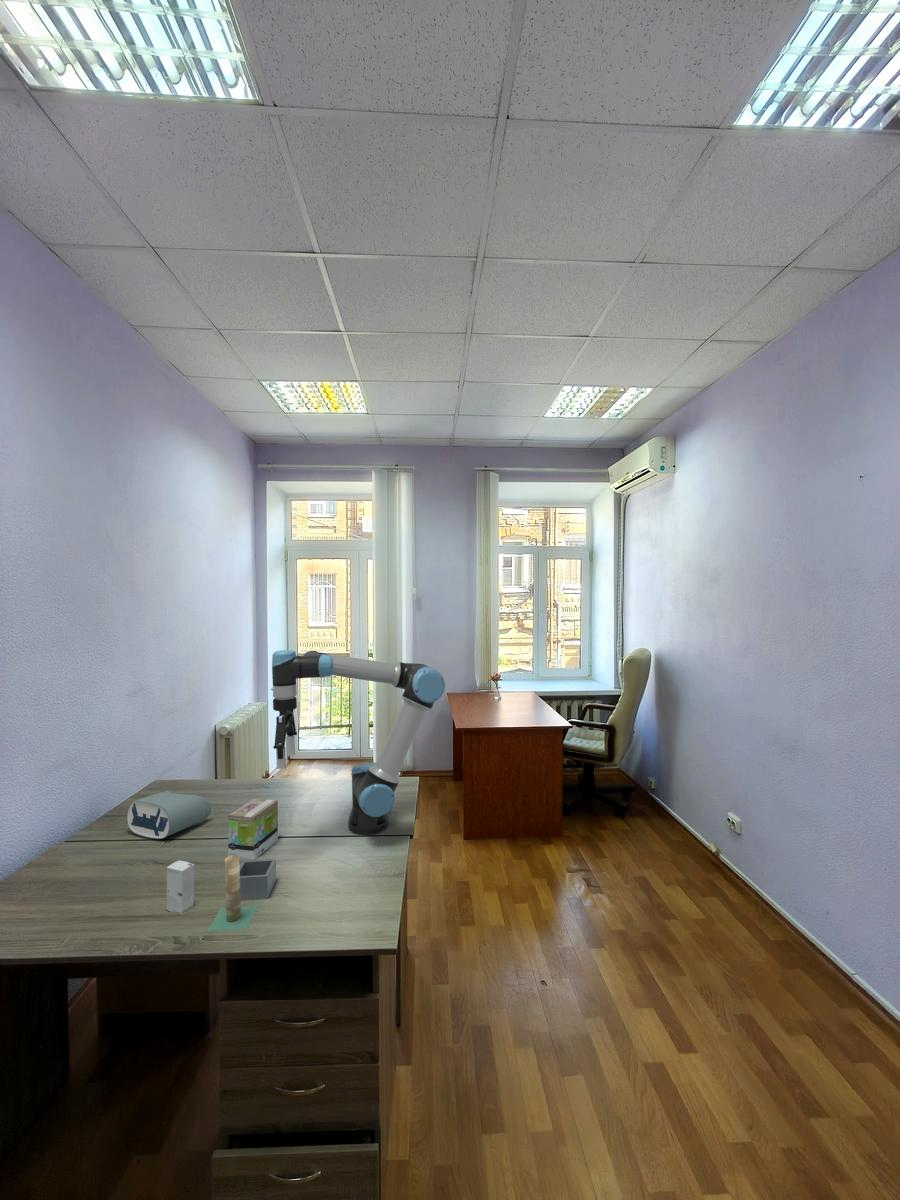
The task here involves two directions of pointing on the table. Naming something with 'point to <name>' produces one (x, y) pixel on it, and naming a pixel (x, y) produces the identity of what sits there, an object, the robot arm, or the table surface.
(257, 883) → the pen cup
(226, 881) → the dowel
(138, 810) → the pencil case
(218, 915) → the mat
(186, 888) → the skincare box
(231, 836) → the tea box
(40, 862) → the table surface
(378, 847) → the table surface
